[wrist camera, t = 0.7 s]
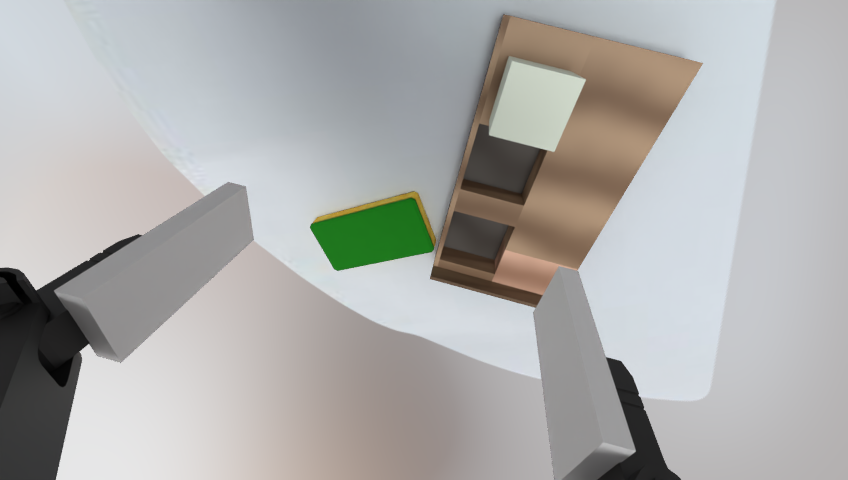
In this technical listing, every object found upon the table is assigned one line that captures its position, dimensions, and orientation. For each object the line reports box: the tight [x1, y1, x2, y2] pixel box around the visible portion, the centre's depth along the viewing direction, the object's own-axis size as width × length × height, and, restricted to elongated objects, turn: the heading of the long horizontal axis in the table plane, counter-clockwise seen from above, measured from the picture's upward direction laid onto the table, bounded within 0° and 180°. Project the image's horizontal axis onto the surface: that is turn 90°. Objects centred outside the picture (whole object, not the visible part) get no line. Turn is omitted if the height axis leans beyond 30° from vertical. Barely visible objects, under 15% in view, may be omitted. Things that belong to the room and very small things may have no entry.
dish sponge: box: [310, 192, 436, 271], centre depth 40 cm, size 7×14×2 cm, turn 110°
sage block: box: [489, 56, 586, 152], centre depth 25 cm, size 5×5×5 cm
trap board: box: [430, 14, 703, 308], centre depth 32 cm, size 25×15×5 cm, turn 168°
